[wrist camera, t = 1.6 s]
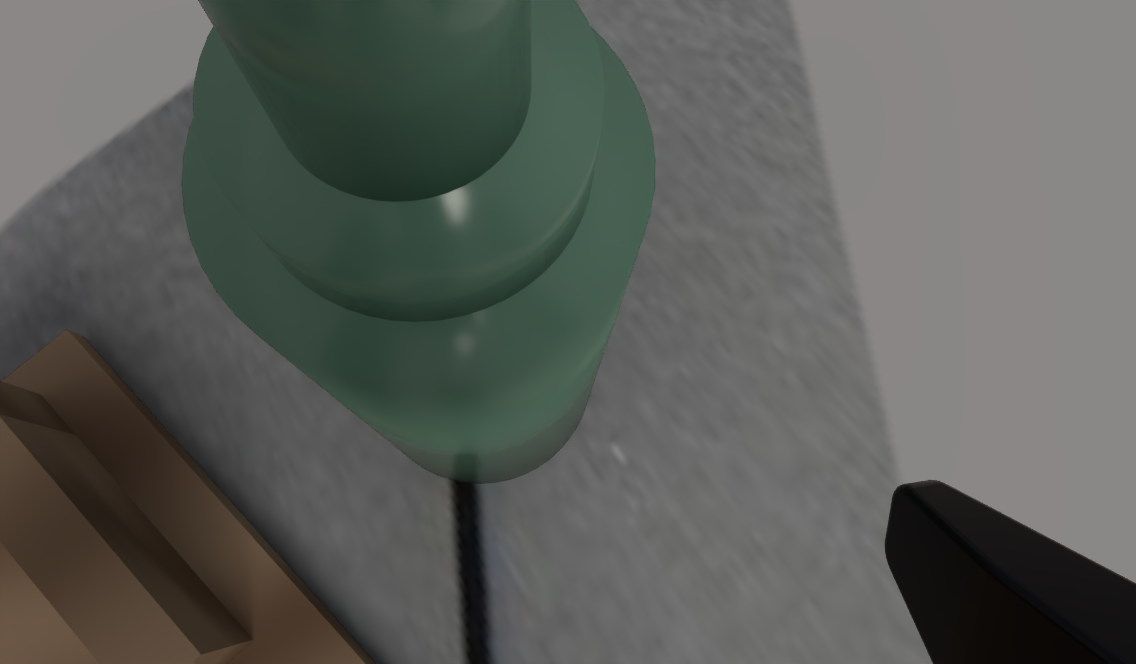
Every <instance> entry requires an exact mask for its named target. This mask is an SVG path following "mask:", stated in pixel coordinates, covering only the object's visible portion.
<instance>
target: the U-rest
mask: <svg viewBox="0 0 1136 664" xmlns="http://www.w3.org/2000/svg"><path fill="white" fill-rule="evenodd" d="M0 664H376V663H375V662H374V661H373V660H372V659H371V658H370V657H369V655H368V654H367V653H366V652H365V651H364V650H363V649H362V648H361V647H360V645H359V644H358V643H357V642H356V641H355V640H354V639H353V638H352V636H351V635H350V634H349V633H348V632H347V631H346V630H345V629H344V628H343V626H342V625H341V624H340V623H339V622H338V621H337V620H336V619H335V617H334V616H333V615H332V614H331V613H330V612H329V611H328V610H327V609H326V607H325V606H324V605H323V604H322V603H321V602H320V601H319V600H318V598H317V597H316V596H315V595H314V594H313V593H312V592H311V591H310V590H309V588H308V587H307V586H306V585H305V584H304V583H303V582H302V581H301V579H300V578H299V577H298V576H297V575H296V574H295V573H294V572H293V571H292V569H291V568H290V567H289V566H288V565H287V564H286V563H285V562H284V561H283V559H282V558H281V557H280V556H279V555H278V554H277V553H276V552H275V550H274V549H273V548H272V547H271V546H270V545H269V544H268V543H267V542H266V540H265V539H264V538H263V537H262V536H261V535H260V534H259V533H258V531H257V530H256V529H255V528H254V527H253V526H252V525H251V524H250V523H249V521H248V520H247V519H246V518H245V517H244V516H243V515H242V514H241V512H240V511H239V510H238V509H237V508H236V507H235V506H234V505H233V504H232V502H231V501H230V500H229V499H228V498H227V497H226V496H225V495H224V493H223V492H222V491H221V490H220V489H219V488H218V487H217V486H216V485H215V483H214V482H213V481H212V480H211V479H210V478H209V477H208V476H207V474H206V473H205V472H204V471H203V470H202V469H201V468H200V467H199V466H198V464H197V463H196V462H195V461H194V460H193V459H192V458H191V457H190V455H189V454H188V453H187V452H186V451H185V450H184V449H183V448H182V447H181V445H180V444H179V443H178V442H177V441H176V440H175V439H174V438H173V437H172V435H171V434H170V433H169V432H168V431H167V430H166V429H165V428H164V426H163V425H162V424H161V423H160V422H159V421H158V420H157V419H156V418H155V416H154V415H153V414H152V413H151V412H150V411H149V410H148V409H147V407H146V406H145V405H144V404H143V403H142V402H141V401H140V400H139V399H138V397H137V396H136V395H135V394H134V393H133V392H132V391H131V390H130V388H129V387H128V386H127V385H126V384H125V383H124V382H123V381H122V380H121V378H120V377H119V376H118V375H117V374H116V373H115V372H114V371H113V369H112V368H111V367H110V366H109V365H108V364H107V363H106V362H105V361H104V359H103V358H102V357H101V356H100V355H99V354H98V353H97V352H96V350H95V349H94V348H93V347H92V346H91V345H90V344H89V343H88V342H87V340H86V339H85V338H84V337H82V336H80V335H78V334H76V333H74V332H72V331H70V330H68V329H66V330H65V331H63V332H62V333H61V334H60V335H58V336H57V337H56V338H55V339H53V340H52V341H51V342H50V343H48V344H47V345H46V346H45V347H43V348H42V349H41V350H40V351H38V352H37V353H36V354H35V355H33V356H32V357H31V358H30V359H28V360H27V361H26V362H25V363H23V364H22V365H21V366H20V367H18V368H17V369H16V370H15V371H13V372H12V373H11V374H10V375H8V376H7V377H6V378H5V379H3V380H2V381H0Z"/></svg>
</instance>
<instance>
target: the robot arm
mask: <svg viewBox="0 0 1136 664" xmlns="http://www.w3.org/2000/svg"><path fill="white" fill-rule="evenodd" d="M885 554H886V559H887V562H888V565H889V568H890V570H891V572H892V574H893V577H894V579H895V581H896V583H897V585H898V588H899V590H900V592H901V594H902V596H903V599H904V601H905V603H906V605H907V607H908V610H909V612H910V614H911V616H912V618H913V621H914V623H915V625H916V627H917V629H918V632H919V634H920V636H921V638H922V640H923V643H924V645H925V647H926V649H927V651H928V654H929V656H930V658H931V660H932V662H933V664H1136V583H1134V582H1132V581H1130V580H1128V579H1127V578H1125V577H1123V576H1121V575H1119V574H1117V573H1115V572H1113V571H1111V570H1109V569H1108V568H1106V567H1104V566H1102V565H1100V564H1098V563H1096V562H1094V561H1092V560H1090V559H1088V558H1087V557H1085V556H1083V555H1081V554H1078V553H1077V552H1075V551H1073V550H1071V549H1069V548H1067V547H1066V546H1064V545H1062V544H1060V543H1058V542H1056V541H1054V540H1052V539H1050V538H1048V537H1046V536H1044V535H1043V534H1041V533H1039V532H1037V531H1035V530H1033V529H1031V528H1029V527H1027V526H1025V525H1023V524H1022V523H1020V522H1018V521H1016V520H1014V519H1012V518H1010V517H1008V516H1006V515H1004V514H1002V513H1001V512H998V511H997V510H995V509H993V508H991V507H989V506H987V505H985V504H983V503H981V502H980V501H978V500H976V499H974V498H972V497H970V496H968V495H966V494H964V493H962V492H960V491H959V490H957V489H955V488H953V487H951V486H949V485H947V484H945V483H943V482H940V481H937V480H928V481H921V482H915V483H908V484H903V485H900V486H898V487H897V488H896V490H895V491H894V493H893V497H892V502H891V508H890V514H889V520H888V526H887V532H886V538H885Z"/></svg>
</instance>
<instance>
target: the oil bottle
mask: <svg viewBox="0 0 1136 664" xmlns="http://www.w3.org/2000/svg"><path fill="white" fill-rule="evenodd" d="M198 1H199V3H200V4H201V6H202V8H203V9H204V11H205V13H206V14H207V16H208V17H209V19H210V21H211V23H212V24H213V28H212V30H211V31H210V33H209V35H208V37H207V40H206V43H205V45H204V48H203V50H202V53H201V56H200V59H199V63H198V68H197V72H196V77H195V81H194V96H193V111H194V118H193V120H192V123H191V126H190V129H189V133H188V138H187V142H186V147H185V151H184V157H183V171H182V194H183V207H184V214H185V219H186V223H187V227H188V231H189V235H190V240H191V242H192V245H193V247H194V249H195V252H196V254H197V257H198V259H199V262H200V264H201V267H202V268H203V270H204V272H205V273H206V275H207V277H208V278H209V280H210V282H211V283H212V285H213V287H214V289H215V290H216V292H217V293H218V294H219V296H220V297H221V298H222V299H223V300H224V302H225V303H226V304H227V305H228V307H229V308H230V309H231V310H232V311H233V313H234V314H235V315H236V316H237V317H238V318H239V319H240V320H241V321H242V322H244V323H245V324H246V325H247V326H248V327H249V328H250V329H251V330H252V331H253V332H255V333H256V334H257V335H258V336H259V337H260V338H261V339H263V340H264V341H265V342H266V343H268V344H269V345H270V346H271V347H273V348H274V349H275V350H276V351H278V352H279V353H280V354H281V355H282V356H284V357H285V358H286V359H287V360H289V361H290V362H291V363H292V364H294V365H295V366H296V367H297V368H299V369H300V370H301V371H302V372H303V373H305V374H306V375H307V376H308V377H310V378H311V379H312V380H313V381H315V382H316V383H317V384H318V385H320V386H321V387H322V388H323V389H324V390H326V391H327V392H328V393H329V394H331V395H332V396H333V397H334V398H336V399H337V400H338V401H339V402H341V403H342V404H343V405H344V406H345V407H347V408H348V409H349V410H350V411H352V412H353V413H354V414H355V415H357V416H358V417H359V418H360V419H362V420H363V421H364V422H365V423H366V424H368V425H369V426H370V427H371V428H373V429H374V430H375V431H376V432H378V433H379V434H380V435H381V436H383V437H384V438H385V439H386V440H387V441H389V442H390V443H391V444H392V445H394V446H395V447H396V448H397V449H399V450H400V451H401V452H402V453H404V454H405V455H406V456H407V457H408V458H410V459H411V460H412V461H414V462H415V463H417V464H418V465H419V466H421V467H422V468H424V469H426V470H428V471H430V472H432V473H434V474H436V475H438V476H441V477H444V478H447V479H450V480H453V481H458V482H464V483H475V484H485V483H496V482H501V481H506V480H510V479H513V478H516V477H519V476H522V475H524V474H526V473H528V472H530V471H532V470H534V469H536V468H538V467H539V466H541V465H542V464H544V463H545V462H547V461H548V460H550V459H551V458H552V457H553V456H554V455H555V454H556V453H557V452H558V451H560V450H561V448H562V447H563V446H564V445H565V444H566V443H567V441H568V440H569V439H570V437H571V436H572V434H573V433H574V431H575V430H576V428H577V426H578V424H579V422H580V420H581V418H582V416H583V414H584V411H585V408H586V405H587V402H588V399H589V396H590V393H591V390H592V387H593V384H594V381H595V378H596V375H597V372H598V369H599V366H600V363H601V360H602V357H603V354H604V351H605V348H606V345H607V342H608V339H609V337H610V334H611V331H612V328H613V325H614V322H615V319H616V316H617V313H618V310H619V307H620V304H621V301H622V298H623V295H624V292H625V289H626V286H627V283H628V280H629V277H630V274H631V271H632V268H633V265H634V262H635V259H636V256H637V254H638V251H639V248H640V245H641V242H642V239H643V235H644V232H645V229H646V226H647V223H648V220H649V217H650V213H651V207H652V201H653V195H654V189H655V153H654V145H653V137H652V131H651V128H650V124H649V120H648V116H647V113H646V109H645V106H644V104H643V102H642V99H641V97H640V95H639V92H638V90H637V88H636V85H635V83H634V81H633V80H632V78H631V76H630V75H629V73H628V71H627V70H626V68H625V67H624V65H623V63H622V62H621V60H620V59H619V58H618V56H617V55H616V54H615V53H614V51H613V50H612V49H611V48H610V46H609V45H608V44H607V43H606V41H605V40H604V39H603V38H602V37H601V36H600V35H599V34H598V33H597V32H596V31H595V30H594V29H593V28H592V27H590V25H589V23H588V21H587V19H586V17H585V16H584V14H583V12H582V11H581V9H580V7H579V6H578V4H577V2H576V1H575V0H198Z"/></svg>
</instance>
